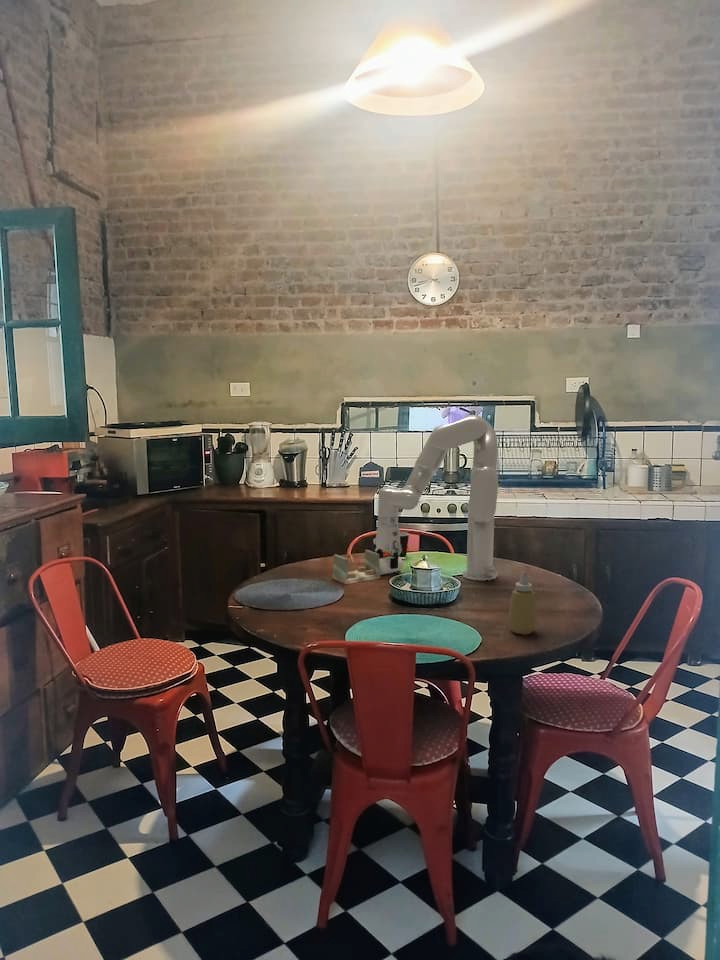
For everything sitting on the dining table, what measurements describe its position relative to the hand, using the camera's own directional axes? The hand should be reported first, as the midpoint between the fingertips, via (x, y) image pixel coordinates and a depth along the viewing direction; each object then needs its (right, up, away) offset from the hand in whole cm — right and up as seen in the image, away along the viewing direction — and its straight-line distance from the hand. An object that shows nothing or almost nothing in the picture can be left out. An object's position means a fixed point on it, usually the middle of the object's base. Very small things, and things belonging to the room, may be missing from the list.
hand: (386, 565), depth 279 cm
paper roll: (+1, -3, 0) cm, 3 cm away
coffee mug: (+4, 0, +24) cm, 24 cm away
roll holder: (-11, -4, -7) cm, 14 cm away
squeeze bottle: (+37, -12, -62) cm, 73 cm away
